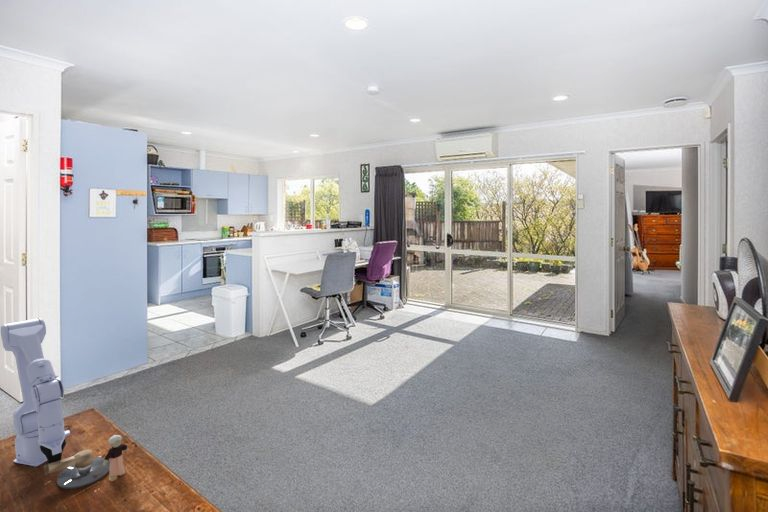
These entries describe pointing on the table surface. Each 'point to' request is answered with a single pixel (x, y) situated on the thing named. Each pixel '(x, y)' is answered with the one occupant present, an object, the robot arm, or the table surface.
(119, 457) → the grandmother figurine
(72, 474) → the post base
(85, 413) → the table surface
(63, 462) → the wooden scoop
